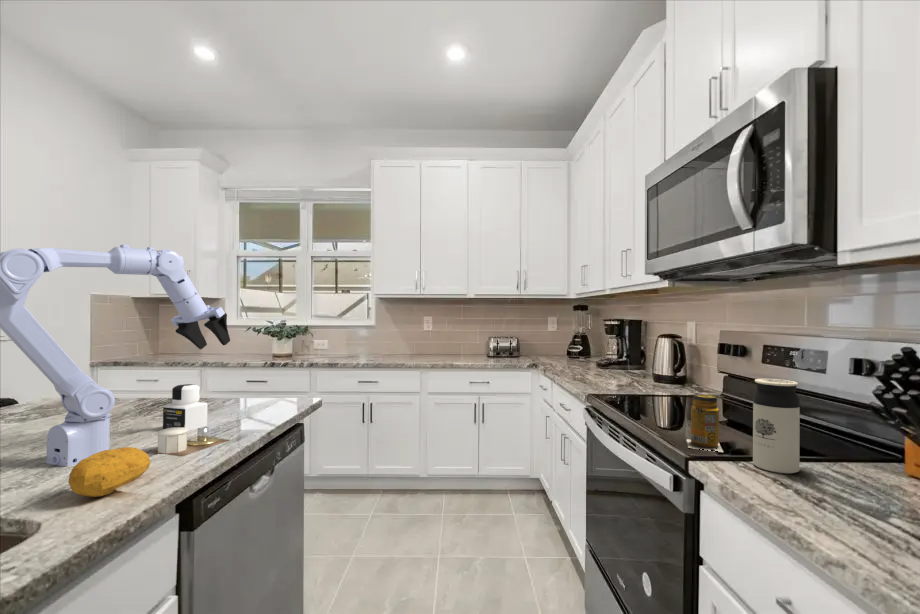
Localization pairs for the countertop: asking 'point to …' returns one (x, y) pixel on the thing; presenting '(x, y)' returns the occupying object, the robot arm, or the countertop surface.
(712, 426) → the condiment
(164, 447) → the cap
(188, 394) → the medicine bottle
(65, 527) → the countertop surface
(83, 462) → the potato
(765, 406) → the travel mug
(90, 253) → the robot arm
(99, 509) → the countertop surface
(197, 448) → the board
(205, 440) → the knob
